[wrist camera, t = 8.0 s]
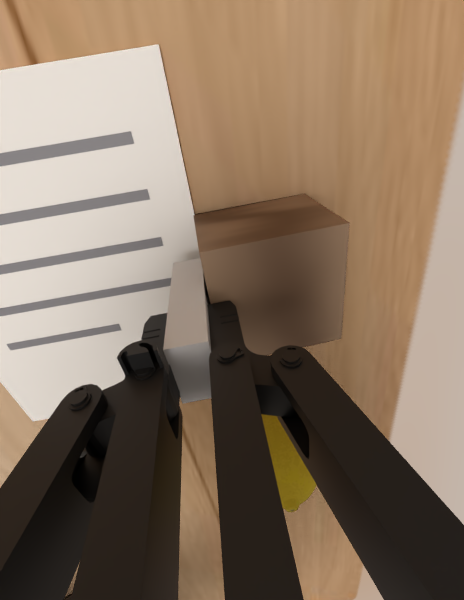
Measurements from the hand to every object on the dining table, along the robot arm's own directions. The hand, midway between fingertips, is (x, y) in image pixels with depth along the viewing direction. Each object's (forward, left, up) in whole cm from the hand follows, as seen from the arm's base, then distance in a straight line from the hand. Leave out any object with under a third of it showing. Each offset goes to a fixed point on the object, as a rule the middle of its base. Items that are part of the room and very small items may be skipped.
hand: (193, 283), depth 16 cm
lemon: (+3, -13, -2) cm, 14 cm away
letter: (-7, 0, -2) cm, 7 cm away
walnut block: (+4, 0, -2) cm, 4 cm away
